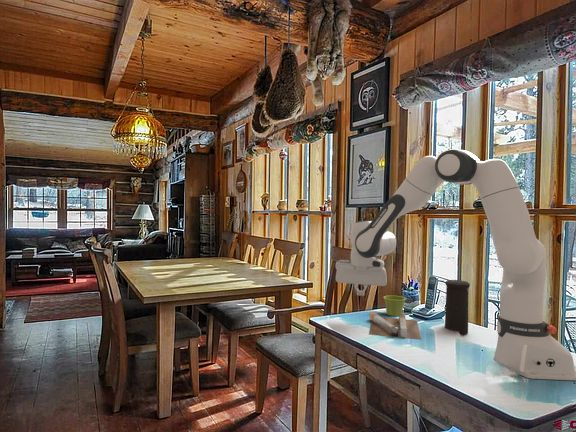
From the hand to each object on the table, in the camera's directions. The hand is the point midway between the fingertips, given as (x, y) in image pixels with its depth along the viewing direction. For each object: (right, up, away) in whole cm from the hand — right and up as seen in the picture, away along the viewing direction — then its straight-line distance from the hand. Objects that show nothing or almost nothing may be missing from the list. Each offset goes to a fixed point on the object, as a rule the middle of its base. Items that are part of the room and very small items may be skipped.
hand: (360, 295), depth 153 cm
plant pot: (+17, -13, +13) cm, 25 cm away
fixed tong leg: (+15, -11, -8) cm, 20 cm away
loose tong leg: (+7, -11, -7) cm, 15 cm away
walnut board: (+12, -12, -6) cm, 18 cm away
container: (+36, -13, -6) cm, 39 cm away
